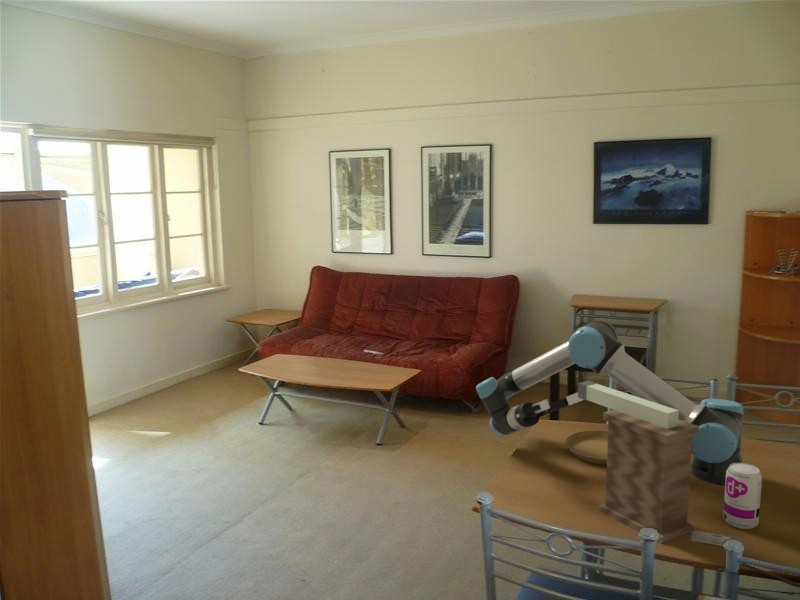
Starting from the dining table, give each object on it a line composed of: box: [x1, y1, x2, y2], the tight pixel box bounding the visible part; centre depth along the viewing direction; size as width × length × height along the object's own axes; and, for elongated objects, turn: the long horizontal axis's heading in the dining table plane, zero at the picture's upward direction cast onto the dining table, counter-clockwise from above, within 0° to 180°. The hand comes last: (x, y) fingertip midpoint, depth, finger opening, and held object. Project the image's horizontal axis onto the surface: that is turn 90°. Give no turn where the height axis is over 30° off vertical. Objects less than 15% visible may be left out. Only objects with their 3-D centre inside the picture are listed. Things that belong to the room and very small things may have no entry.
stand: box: [599, 409, 699, 544], centre depth 174 cm, size 20×12×28 cm, turn 30°
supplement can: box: [722, 462, 763, 530], centre depth 173 cm, size 8×8×15 cm
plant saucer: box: [565, 429, 608, 466], centre depth 221 cm, size 24×24×3 cm
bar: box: [577, 380, 679, 429], centre depth 178 cm, size 30×4×4 cm, turn 30°
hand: (565, 399), depth 198 cm, fingers open, 13 cm apart
